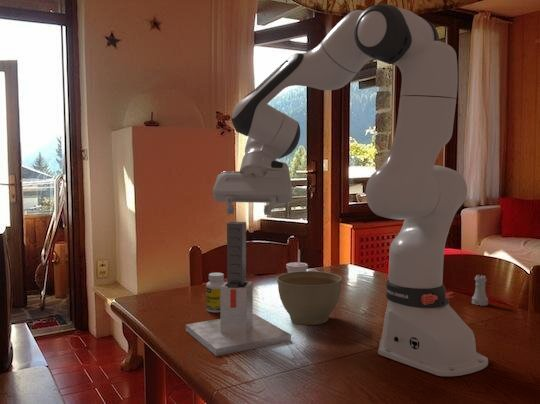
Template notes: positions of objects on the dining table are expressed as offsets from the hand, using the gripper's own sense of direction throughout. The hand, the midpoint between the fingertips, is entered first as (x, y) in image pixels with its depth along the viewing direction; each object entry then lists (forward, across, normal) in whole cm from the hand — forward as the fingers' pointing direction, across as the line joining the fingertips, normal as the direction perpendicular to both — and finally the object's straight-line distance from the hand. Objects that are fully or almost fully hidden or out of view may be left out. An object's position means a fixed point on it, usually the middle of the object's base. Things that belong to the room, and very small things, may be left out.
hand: (248, 212), depth 127 cm
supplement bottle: (+14, -11, +25) cm, 30 cm away
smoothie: (+2, +9, +37) cm, 38 cm away
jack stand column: (+26, 0, +10) cm, 28 cm away
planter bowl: (+17, +15, +22) cm, 31 cm away
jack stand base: (+27, 0, +11) cm, 29 cm away
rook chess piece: (0, +60, +39) cm, 72 cm away
